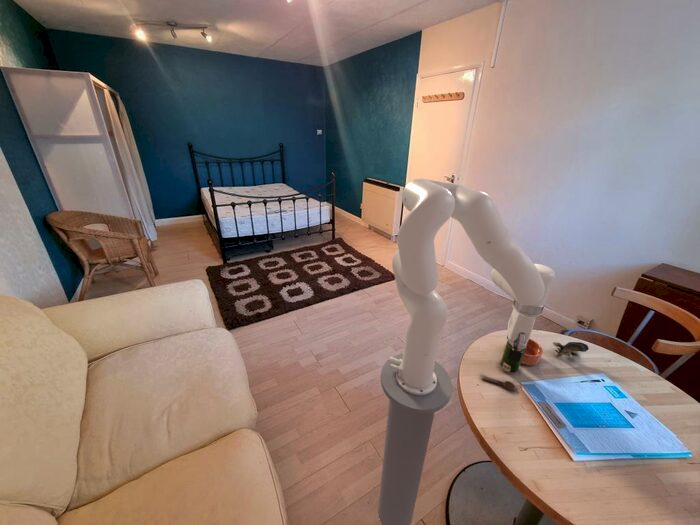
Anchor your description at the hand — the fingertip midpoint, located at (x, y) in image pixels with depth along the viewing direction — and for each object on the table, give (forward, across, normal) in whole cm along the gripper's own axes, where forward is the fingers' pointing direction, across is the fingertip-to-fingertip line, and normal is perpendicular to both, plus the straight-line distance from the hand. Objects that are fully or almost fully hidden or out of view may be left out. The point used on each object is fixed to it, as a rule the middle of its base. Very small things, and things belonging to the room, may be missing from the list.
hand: (512, 349), depth 90 cm
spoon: (+8, +8, -2) cm, 12 cm away
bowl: (+8, -9, +5) cm, 13 cm away
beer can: (+8, 0, +1) cm, 8 cm away
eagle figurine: (+8, -16, +19) cm, 26 cm away
